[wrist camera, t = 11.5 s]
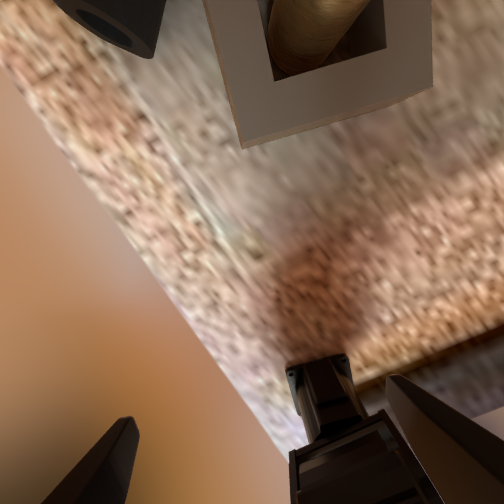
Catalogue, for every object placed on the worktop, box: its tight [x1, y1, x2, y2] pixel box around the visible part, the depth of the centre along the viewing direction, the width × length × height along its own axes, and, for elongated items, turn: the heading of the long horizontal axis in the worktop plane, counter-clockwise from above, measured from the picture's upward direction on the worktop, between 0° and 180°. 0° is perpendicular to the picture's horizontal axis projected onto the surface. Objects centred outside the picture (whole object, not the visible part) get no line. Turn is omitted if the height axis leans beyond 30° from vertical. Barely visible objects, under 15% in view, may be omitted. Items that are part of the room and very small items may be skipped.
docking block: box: [202, 0, 433, 149], centre depth 14 cm, size 11×11×4 cm
